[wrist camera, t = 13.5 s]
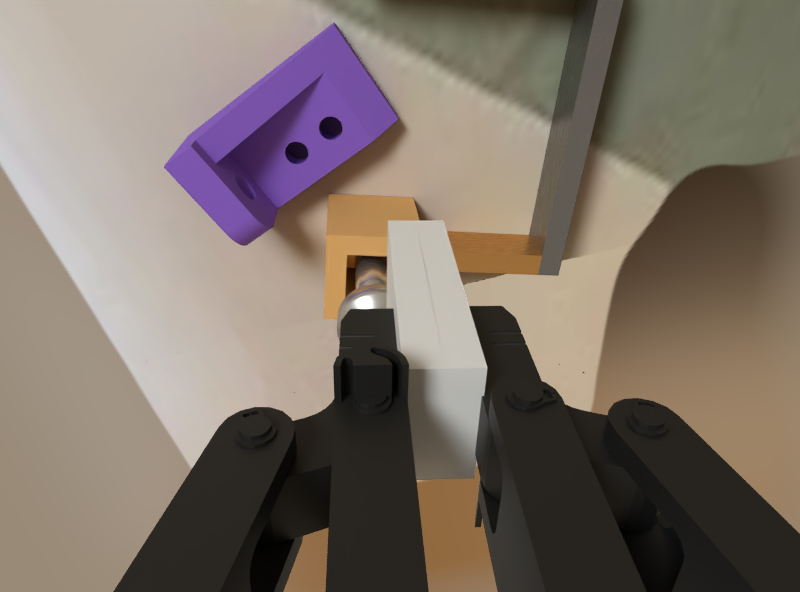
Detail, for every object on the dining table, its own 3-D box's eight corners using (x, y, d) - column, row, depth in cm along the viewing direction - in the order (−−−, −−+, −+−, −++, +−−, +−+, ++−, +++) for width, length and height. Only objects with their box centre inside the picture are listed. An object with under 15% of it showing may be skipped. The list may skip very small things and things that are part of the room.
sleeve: (413, 197, 44) (424, 239, 38) (406, 272, 47) (415, 321, 41) (328, 193, 43) (326, 234, 37) (326, 269, 46) (324, 318, 40)
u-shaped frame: (610, -44, 37) (633, -43, 34) (544, 254, 47) (558, 275, 44) (353, -69, 35) (353, -70, 32) (341, 245, 45) (340, 267, 42)
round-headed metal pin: (405, 227, 41) (419, 296, 33) (400, 284, 43) (412, 362, 35) (339, 224, 41) (338, 293, 33) (337, 282, 43) (335, 360, 35)
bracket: (258, 211, 44) (245, 254, 38) (189, 133, 41) (163, 166, 35) (396, 113, 41) (405, 142, 35) (334, 21, 38) (332, 36, 32)
